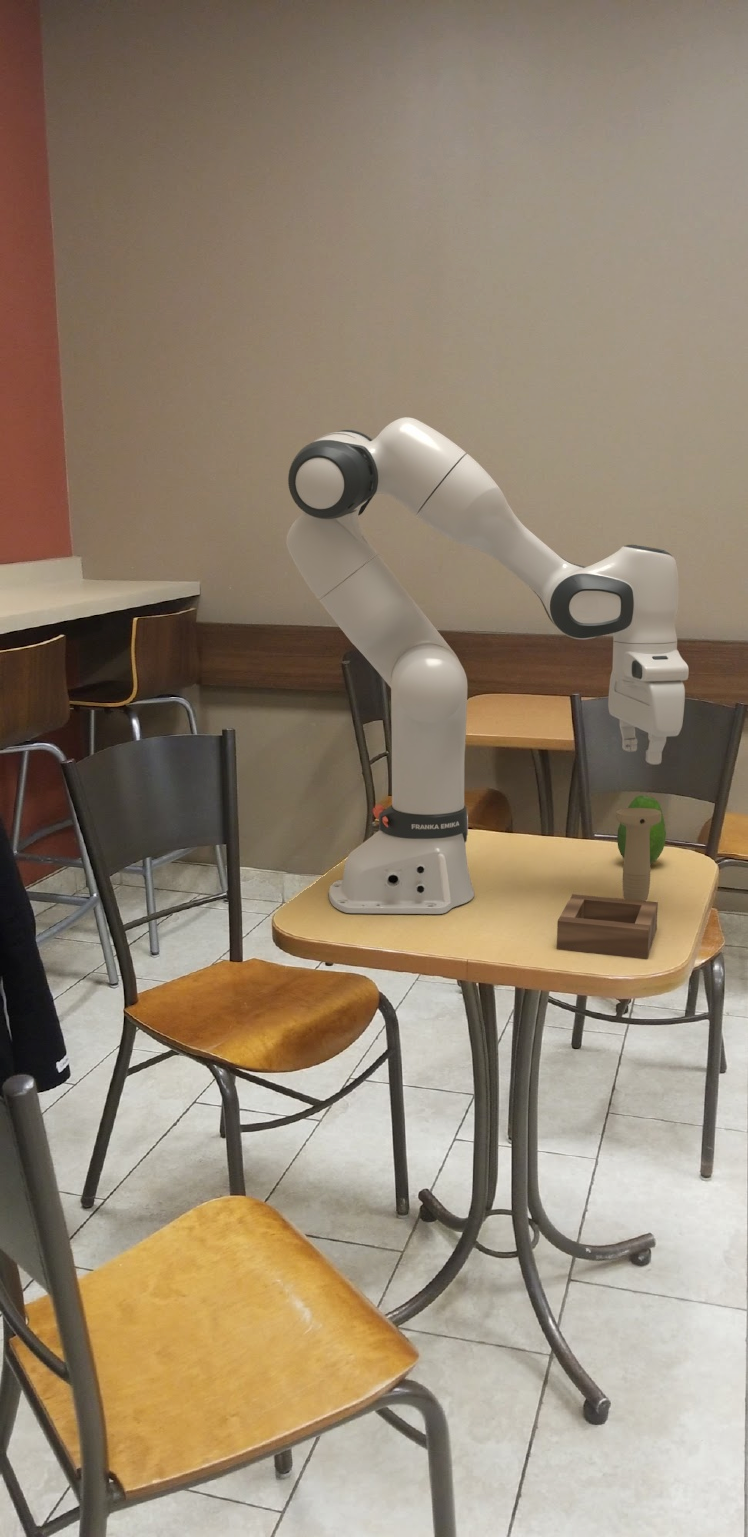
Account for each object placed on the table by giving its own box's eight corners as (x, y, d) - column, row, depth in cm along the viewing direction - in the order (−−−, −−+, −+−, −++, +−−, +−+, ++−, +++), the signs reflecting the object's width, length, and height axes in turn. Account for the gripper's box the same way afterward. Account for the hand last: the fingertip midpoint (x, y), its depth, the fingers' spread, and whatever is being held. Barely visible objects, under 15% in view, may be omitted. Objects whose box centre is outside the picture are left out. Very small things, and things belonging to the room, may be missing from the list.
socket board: (647, 958, 152) (648, 930, 151) (556, 948, 156) (557, 920, 155) (656, 929, 163) (657, 902, 162) (571, 920, 167) (572, 894, 166)
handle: (660, 915, 169) (664, 815, 166) (616, 915, 169) (620, 816, 166) (652, 904, 173) (656, 807, 170) (610, 904, 173) (613, 808, 170)
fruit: (611, 858, 197) (613, 790, 195) (657, 857, 198) (659, 789, 195) (622, 872, 190) (624, 801, 187) (669, 871, 190) (673, 800, 187)
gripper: (599, 654, 173) (596, 744, 176) (649, 670, 153) (645, 772, 156) (639, 652, 174) (636, 742, 177) (694, 669, 154) (690, 770, 157)
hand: (641, 756), depth 166 cm, fingers open, 8 cm apart
